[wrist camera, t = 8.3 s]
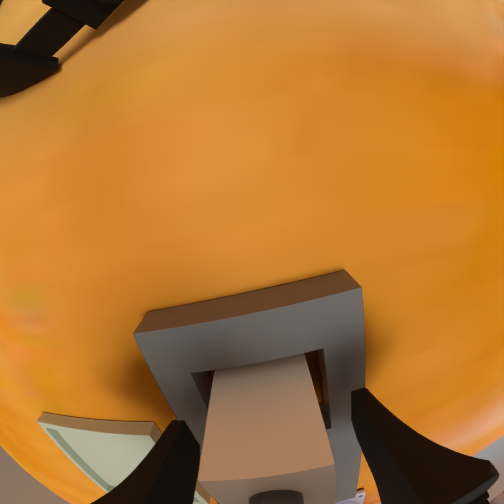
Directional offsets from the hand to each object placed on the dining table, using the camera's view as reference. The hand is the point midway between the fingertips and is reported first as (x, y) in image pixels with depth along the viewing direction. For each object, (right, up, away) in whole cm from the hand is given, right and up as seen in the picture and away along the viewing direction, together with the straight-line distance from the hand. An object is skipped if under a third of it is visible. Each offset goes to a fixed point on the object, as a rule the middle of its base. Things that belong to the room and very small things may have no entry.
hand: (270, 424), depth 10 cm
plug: (0, +1, +3) cm, 3 cm away
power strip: (+1, -4, +4) cm, 6 cm away
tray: (-11, -10, +6) cm, 16 cm away
